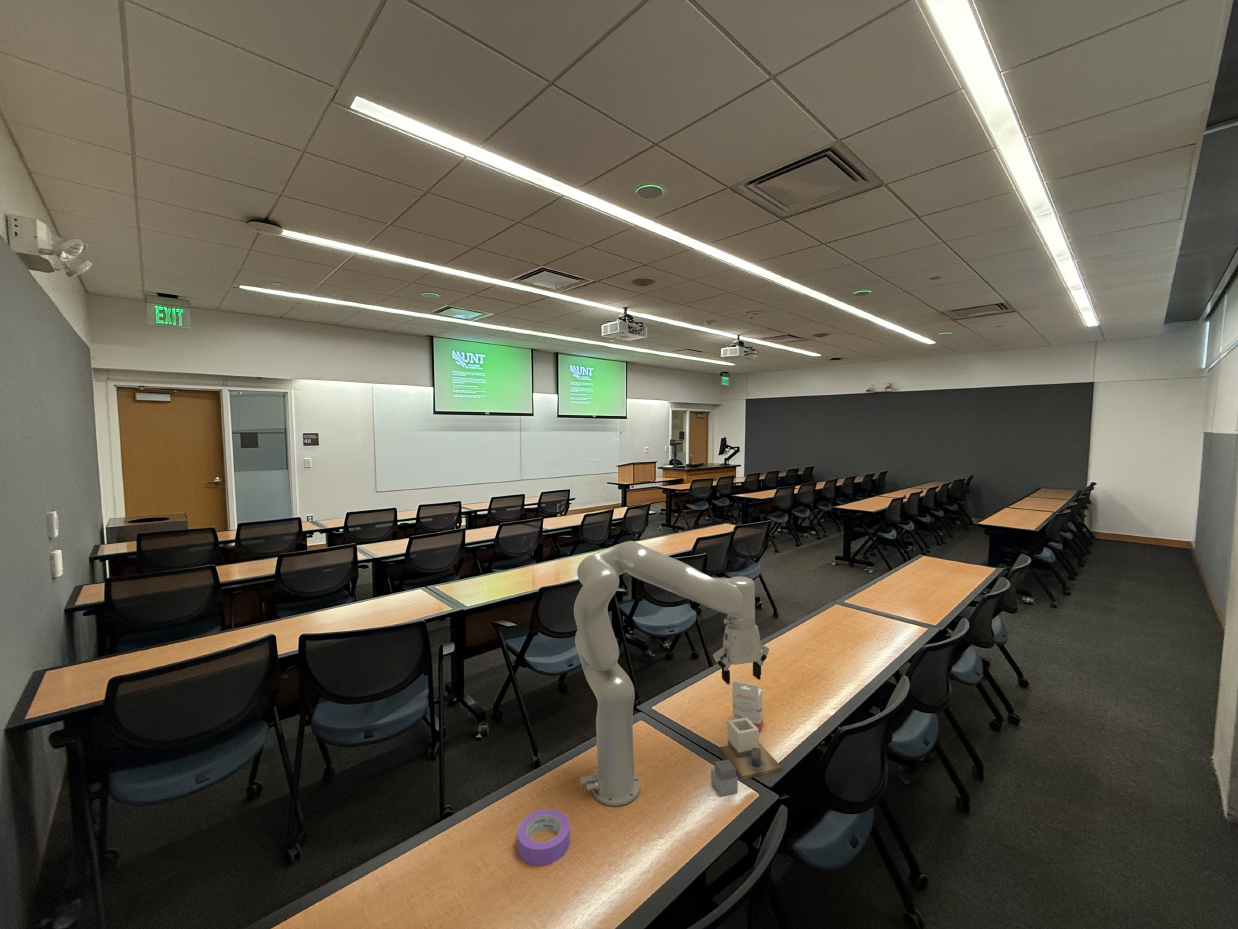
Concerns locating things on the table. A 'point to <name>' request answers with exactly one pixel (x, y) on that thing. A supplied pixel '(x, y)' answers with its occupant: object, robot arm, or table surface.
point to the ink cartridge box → (747, 703)
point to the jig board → (743, 766)
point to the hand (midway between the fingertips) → (741, 679)
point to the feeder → (724, 778)
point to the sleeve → (742, 736)
